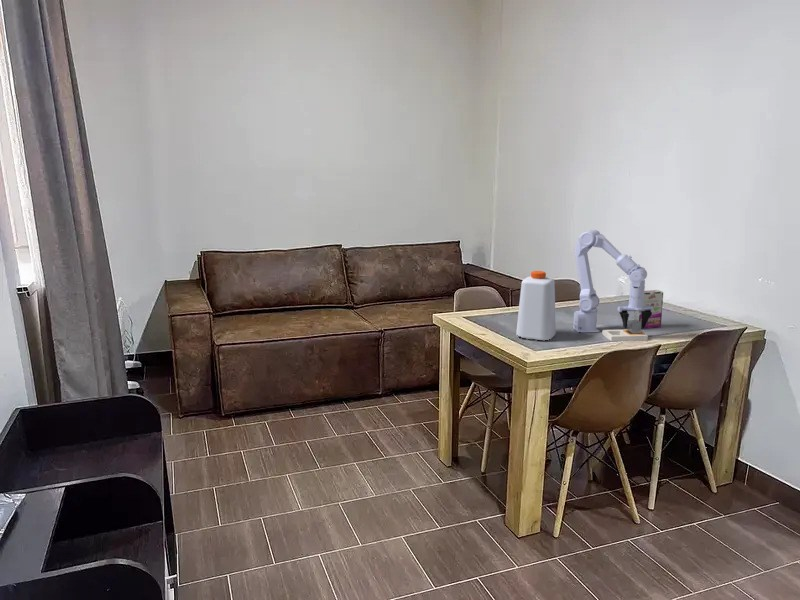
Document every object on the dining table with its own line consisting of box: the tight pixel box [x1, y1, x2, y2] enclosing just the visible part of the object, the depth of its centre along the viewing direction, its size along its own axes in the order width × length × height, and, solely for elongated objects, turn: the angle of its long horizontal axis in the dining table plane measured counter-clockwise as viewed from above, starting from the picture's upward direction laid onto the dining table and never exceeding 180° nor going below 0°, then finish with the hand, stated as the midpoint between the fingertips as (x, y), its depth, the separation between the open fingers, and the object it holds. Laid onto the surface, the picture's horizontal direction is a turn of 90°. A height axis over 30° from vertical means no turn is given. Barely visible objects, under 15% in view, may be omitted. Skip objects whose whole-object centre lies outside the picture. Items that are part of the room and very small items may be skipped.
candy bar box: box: [633, 289, 664, 330], centre depth 268 cm, size 11×5×16 cm, turn 101°
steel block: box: [627, 319, 642, 334], centre depth 254 cm, size 4×4×7 cm
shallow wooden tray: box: [601, 328, 649, 342], centre depth 254 cm, size 15×10×2 cm, turn 92°
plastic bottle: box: [515, 270, 557, 341], centre depth 255 cm, size 15×15×28 cm
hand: (634, 327), depth 254 cm, fingers open, 7 cm apart
